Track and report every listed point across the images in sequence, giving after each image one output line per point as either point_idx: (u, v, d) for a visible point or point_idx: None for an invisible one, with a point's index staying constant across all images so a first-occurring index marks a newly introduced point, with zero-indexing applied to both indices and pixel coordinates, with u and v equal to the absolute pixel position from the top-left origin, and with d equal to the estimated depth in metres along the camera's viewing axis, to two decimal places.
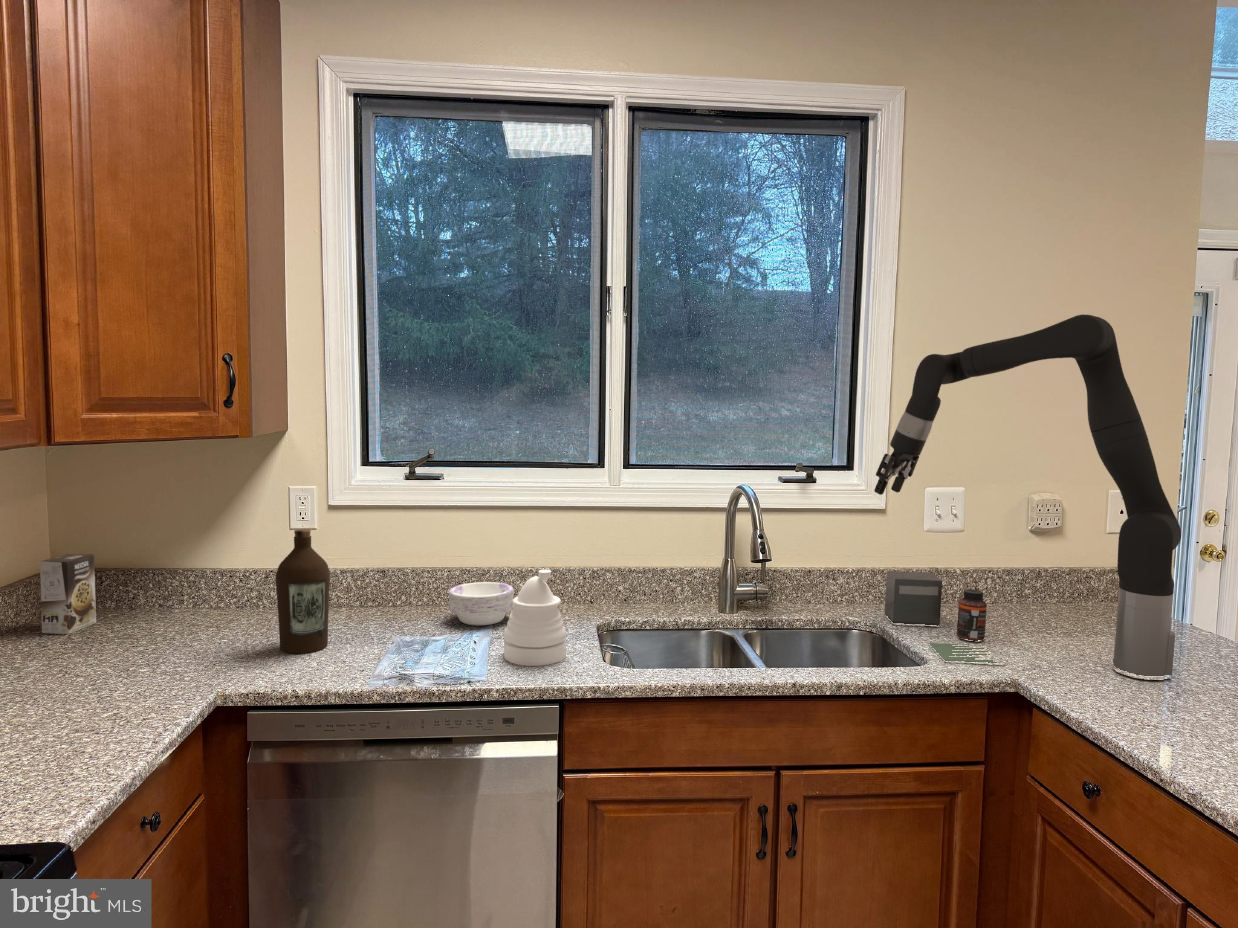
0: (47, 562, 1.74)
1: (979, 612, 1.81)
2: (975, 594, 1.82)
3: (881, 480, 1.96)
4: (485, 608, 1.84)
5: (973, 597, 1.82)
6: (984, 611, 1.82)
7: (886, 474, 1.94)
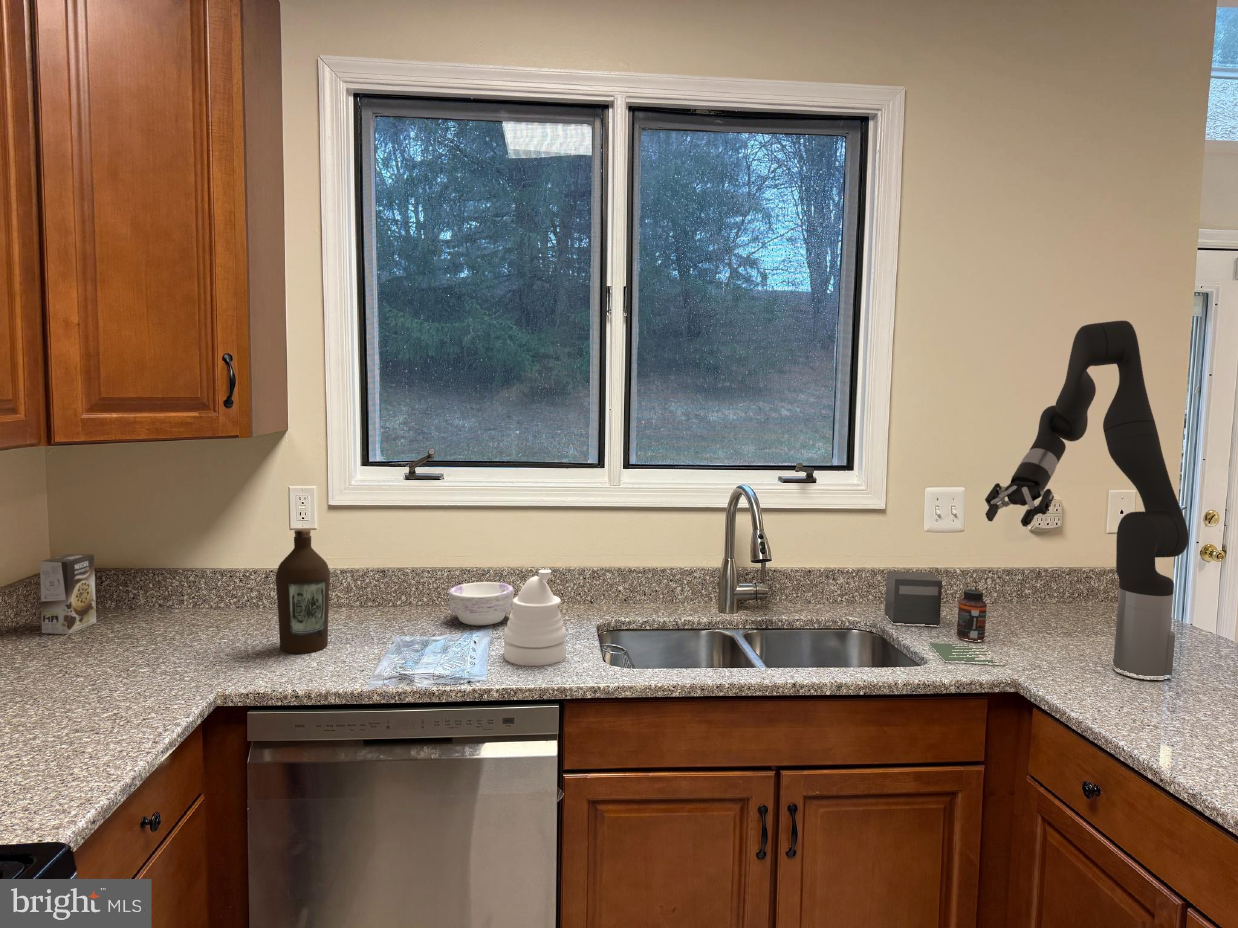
0: (47, 562, 1.74)
1: (979, 612, 1.81)
2: (975, 594, 1.82)
3: None
4: (485, 608, 1.84)
5: (973, 597, 1.82)
6: (984, 611, 1.82)
7: (988, 496, 1.96)
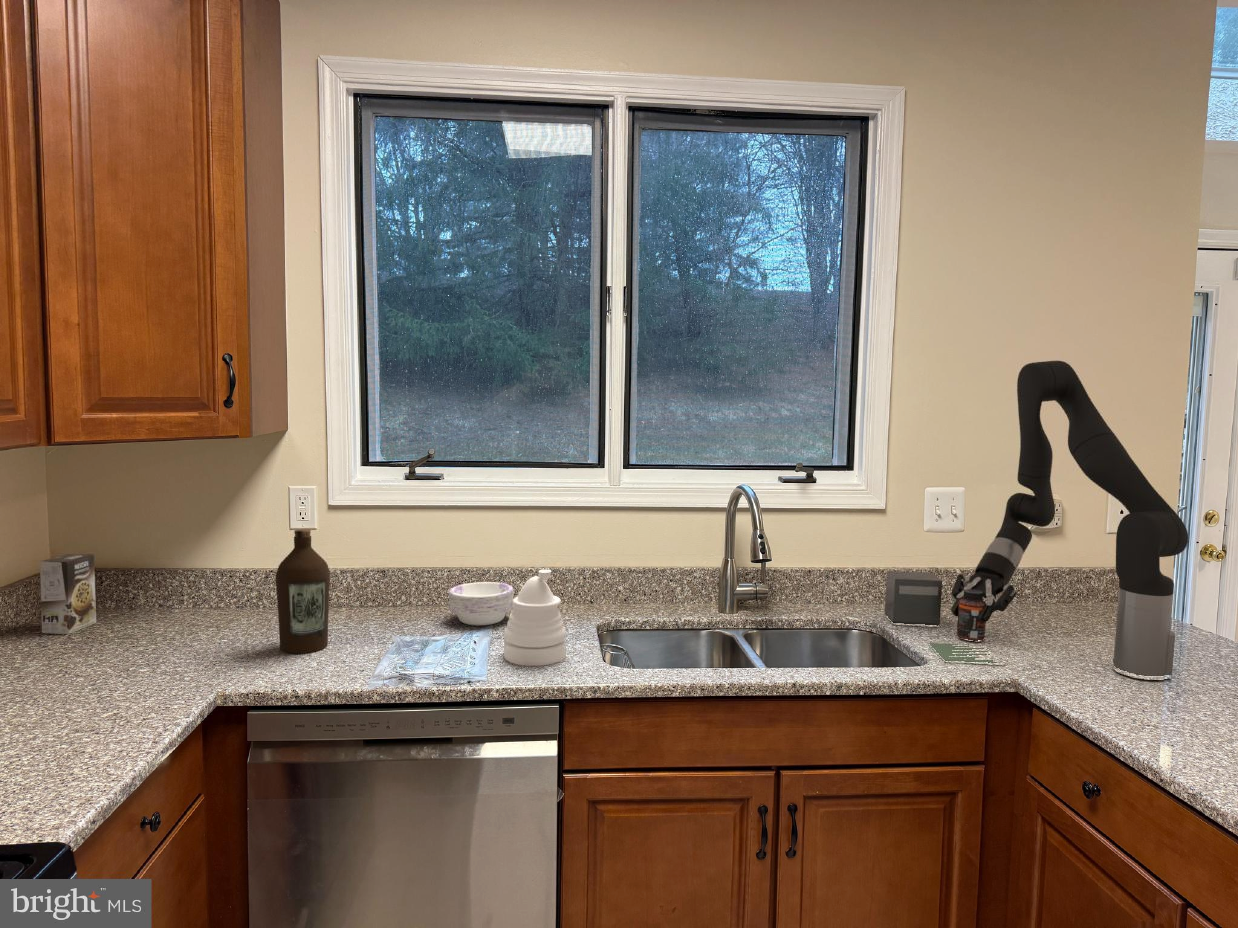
0: (47, 562, 1.74)
1: (979, 612, 1.81)
2: (975, 594, 1.82)
3: None
4: (485, 608, 1.84)
5: (973, 597, 1.82)
6: None
7: (953, 589, 1.90)
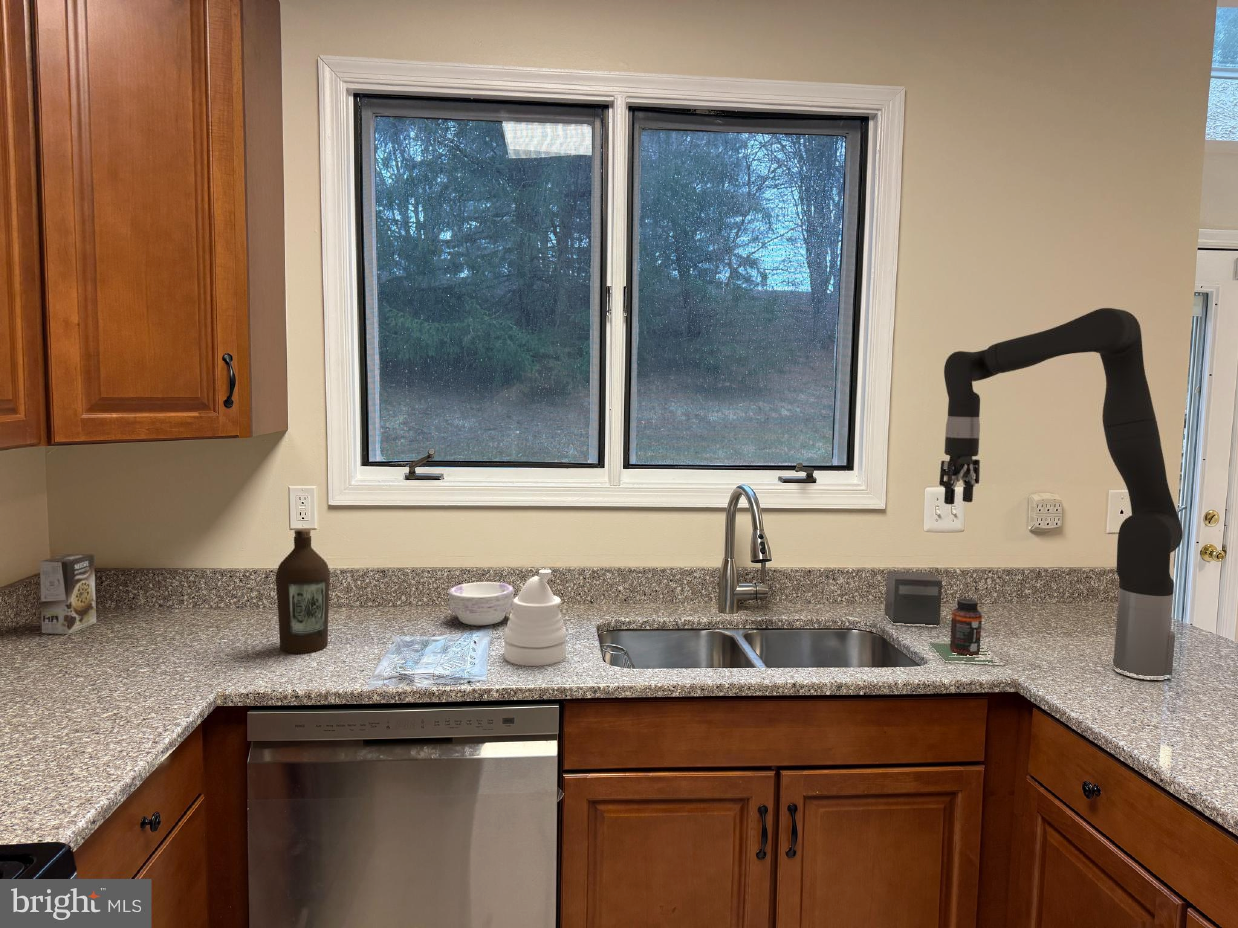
0: (47, 562, 1.74)
1: (978, 622, 1.70)
2: (973, 604, 1.70)
3: (947, 489, 1.89)
4: (485, 608, 1.84)
5: (972, 608, 1.70)
6: (981, 621, 1.71)
7: (950, 480, 1.87)
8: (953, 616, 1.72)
